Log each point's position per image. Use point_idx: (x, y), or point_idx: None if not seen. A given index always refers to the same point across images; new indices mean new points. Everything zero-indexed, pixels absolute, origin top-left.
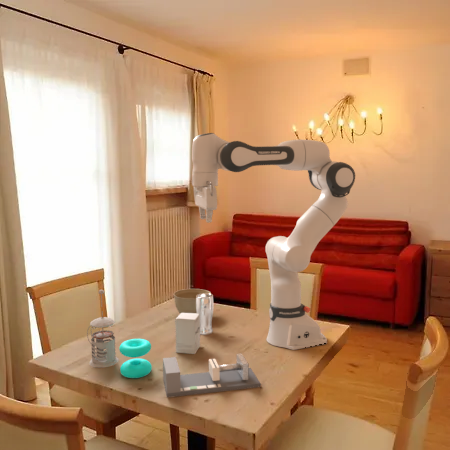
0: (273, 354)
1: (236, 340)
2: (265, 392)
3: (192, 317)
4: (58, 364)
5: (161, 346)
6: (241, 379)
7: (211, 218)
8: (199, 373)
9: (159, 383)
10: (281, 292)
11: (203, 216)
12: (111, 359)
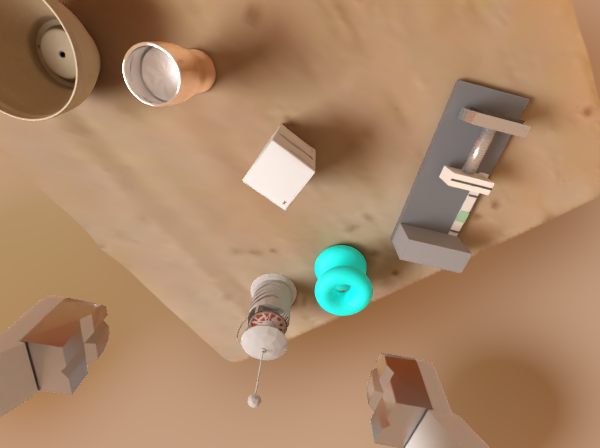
0: None
1: (283, 15)
2: (548, 100)
3: (297, 171)
4: None
5: (247, 195)
6: None
7: (445, 399)
8: (417, 185)
9: None
10: None
11: (83, 346)
12: (289, 290)
